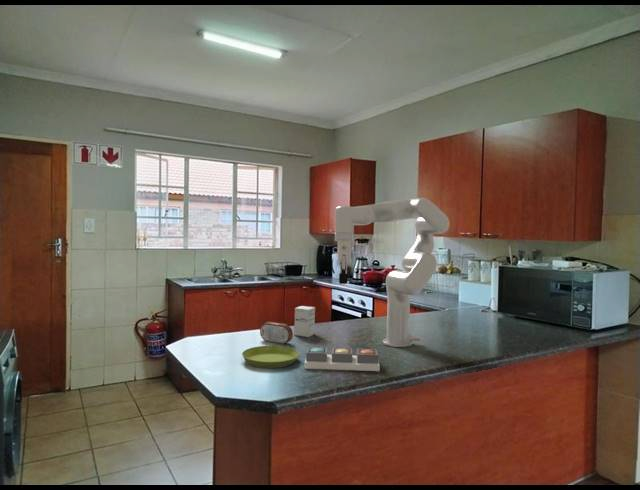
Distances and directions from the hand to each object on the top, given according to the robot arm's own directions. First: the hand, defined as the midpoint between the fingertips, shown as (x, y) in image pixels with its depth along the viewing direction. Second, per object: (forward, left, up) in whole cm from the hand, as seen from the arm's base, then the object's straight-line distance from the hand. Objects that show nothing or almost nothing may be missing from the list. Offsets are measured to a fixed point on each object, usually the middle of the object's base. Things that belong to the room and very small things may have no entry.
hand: (343, 283), depth 173 cm
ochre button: (0, +18, -25) cm, 31 cm away
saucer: (+26, +16, -28) cm, 41 cm away
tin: (+28, -10, -27) cm, 40 cm away
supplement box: (+17, -25, -27) cm, 41 cm away
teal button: (+9, +18, -25) cm, 32 cm away
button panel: (0, +18, -27) cm, 33 cm away
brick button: (-9, +18, -25) cm, 32 cm away
